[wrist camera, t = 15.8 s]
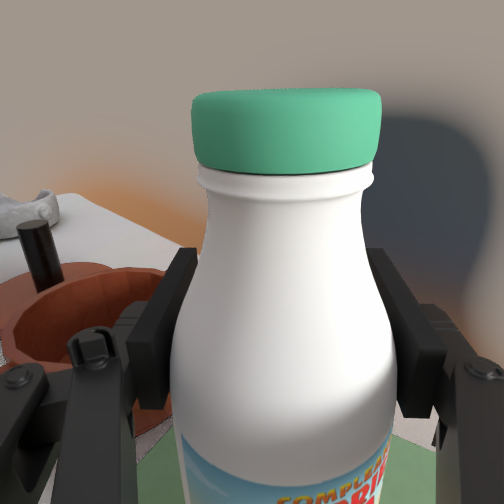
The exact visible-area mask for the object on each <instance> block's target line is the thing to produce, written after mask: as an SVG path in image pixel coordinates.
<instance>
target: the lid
mask: <svg viewBox="0 0 504 504" xmlns="http://www.w3.org/2000/svg"><path fill="white" fill-rule="evenodd" d="M16 231H17V234H18V237H19V240H20V243H21V246H22V249H23V252H24V255H25V258H26V261H27V264H28V267H29V270H30V272H27V273H24V274H22V275H19V276H17V277H14V278H12V279H10V280H8V281H6V282H4V283H2V284H1V285H0V334H1V331H2V330H3V328H4V327H5V325H6V323H7V322H8V320H9V319H10V317H11V316H12V314H13V312H15V311H16V310H17V309H19V308H20V307H21V306H23V305H24V304H25V303H26V302H28V301H29V300H30V299H32V298H33V297H34V296H36V295H37V294H38V293H40V292H42V291H45V290H47V289H49V288H51V287H53V286H55V285H57V284H59V283H61V282H64V281H66V280H69V279H72V278H76V277H79V276H83V275H86V274H90V273H93V272H97V271H101V270H109V269H112V268H110V267H108V266H106V265H102V264H98V263H90V262H74V263H64V264H60V261H59V258H58V254H57V251H56V247H55V243H54V240H53V236H52V233H51V229H50V226H49V222H48V221H47V220H42V219H38V220H30V221H26V222H23V223H20V224H18V225H17V226H16Z"/></svg>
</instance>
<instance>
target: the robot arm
mask: <svg viewBox="0 0 504 504" xmlns="http://www.w3.org/2000/svg"><path fill="white" fill-rule="evenodd" d="M365 250H366V254H367V258H368V263H369V266H370V269H371V272H372V275H373V278H374V281H375V284H376V286H377V289H378V292H379V294H380V297H381V299H382V302H383V304H384V307H385V310H386V313H387V316H388V319H389V322H390V326H391V329H392V334H393V339H394V343H395V351H396V360H397V401H398V404H399V406H400V409H401V411H402V414H403V417H404V418H425V419H429V418H430V414H431V411H432V407H433V405H434V407H435V409H436V411H437V413H438V415H439V420H438V424H437V427H436V431H435V434H434V438H433V441H432V446H434V447H436V504H504V370H503V369H502V368H501V367H500V366H499V365H498V364H496V363H494V362H492V361H491V360H489V359H486V358H483V357H480V356H478V355H477V354H476V352H475V351H474V350H473V348H472V347H471V346H470V345H469V343H468V342H467V340H466V339H465V338H464V336H463V335H462V334H461V332H460V331H458V328H457V327H456V326H455V324H454V323H452V320H451V319H450V318H449V316H448V315H447V313H446V312H444V311H443V310H442V309H440V308H439V307H437V306H436V305H434V304H419V303H418V301H417V300H416V298H415V297H414V296H413V294H412V292H411V291H410V289H409V288H408V287H407V285H406V283H405V282H404V280H403V279H402V277H401V276H400V274H399V272H398V271H397V269H396V268H395V266H394V265H393V263H392V262H391V260H390V259H389V257H388V256H387V255H386V253H385V251H384V250H383V248H365ZM197 264H198V259H197V249H196V248H179V250H178V252H177V254H176V255H175V257H174V259H173V260H172V262H171V264H170V266H169V267H168V269H167V271H166V273H165V274H164V276H163V278H162V279H161V281H160V283H159V285H158V286H157V288H156V290H155V291H154V293H153V295H152V297H151V298H150V300H149V301H135V302H133V303H132V304H130V305H129V306H128V307H126V308H125V309H124V311H123V312H122V314H121V315H120V317H119V319H118V320H117V321H116V323H115V324H114V326H113V327H112V329H110V328H109V327H104V326H97V327H90V328H87V329H84V330H82V331H80V332H78V333H76V334H75V335H74V336H72V337H71V338H70V339H69V341H68V342H67V344H66V347H67V350H68V353H69V357H70V360H71V363H72V366H73V368H70V369H66V370H61V371H56V372H51V373H47V374H46V373H45V370H44V368H43V366H42V365H40V364H39V363H30V362H29V363H24V364H19V365H17V366H14V367H12V368H10V369H8V370H7V371H5V372H3V373H2V374H0V504H38V502H39V500H40V497H41V495H42V493H43V490H44V488H45V486H46V483H47V481H48V479H49V476H50V474H51V472H52V469H53V467H54V465H55V462H56V460H57V458H58V461H57V467H56V473H55V479H54V485H53V491H52V497H51V503H50V504H138V487H137V466H136V444H135V423H134V415H133V410H132V408H133V406H134V403H135V401H136V399H137V398H138V402H139V407H140V409H145V410H163V409H164V406H165V403H166V400H167V398H168V395H169V392H170V355H171V347H172V340H173V334H174V330H175V326H176V322H177V318H178V315H179V312H180V309H181V306H182V304H183V301H184V298H185V296H186V294H187V291H188V289H189V286H190V284H191V281H192V278H193V276H194V273H195V270H196V267H197Z"/></svg>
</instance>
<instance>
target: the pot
mask: <svg viewBox="0 0 504 504" xmlns="http://www.w3.org/2000/svg"><path fill="white" fill-rule="evenodd" d="M166 271H167V270H166ZM166 271H160V270H157V269H152V268H133V267H125V268H117V269H109V270H101V271H97V272H93V273H90V274H86V275H83V276H79V277H76V278H72V279H69V280H66V281H64V282H61V283H59V284H57V285H55V286H53V287H51V288H49V289H47V290H45V291H42V292H40V293H38V294H37V295H36V296H34V297H33V298H32V299H30V300H29V301H28V302H26V303H25V304H24V305H23V306H21V307H20V308H19V309H17V310H16V311H15V312H13V314H12V316H11V317H10V319H9V320H8V322H7V323H6V325H5V327H4V328H3V330H2V331H1V334H0V336H1V343H2V350H3V355H4V357H5V360H6V362H7V364H5V365H3V366H2V367H0V374H2V373H3V372H5V371H7V370H8V369H10V368H12V367H14V366H17V365H19V364H24V363H29V362H30V363H39V364H40V365H42V366H43V368H44V370H45V373H46V374H47V373H51V372H56V371H61V370H66V369H70V368H73V366H72V363H71V360H70V357H69V353H68V350H67V347H66V344H67V342H68V341H69V339H70V338H71V337H72V336H74V335H75V334H76V333H78V332H80V331H82V330H84V329H87V328H90V327H97V326H104V327H109V328H110V329H112V327H113V326H114V324H115V323H116V321H117V320H118V319H119V317H120V315H121V314H122V312H123V311H124V309H125V308H126V307H128V306H129V305H130V304H132V303H133V302H135V301H149V300H150V298H151V297H152V295H153V293H154V291H155V290H156V288H157V286H158V285H159V283H160V281H161V279H162V278H163V276H164V274H165V273H166ZM132 410H133V415H134V423H135V437H136V436H138V435H140V434H142V433H144V432H146V431H148V430H150V429H152V428H153V427H155V426H157V425H158V424H160V423H161V422H163V421H164V420H165V419H167V418H168V417H169V416H170V415H172V405H171V395H170V392H169V395H168V398H167V400H166V403H165V406H164V409H163V410H145V409H140V407H139V402H138V398H137V399H136V401H135V403H134V406H133V408H132Z"/></svg>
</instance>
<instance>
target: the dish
mask: <svg viewBox="0 0 504 504" xmlns="http://www.w3.org/2000/svg"><path fill="white" fill-rule="evenodd" d="M38 219H42V220H47V221H48V222H49V226H52V225H54V224H55V223H56V222H57V221H58V220H59V206H58V202H57V199H56V196H55V194H54V193H53V191H51V190H47V189H42V190H41V191H40V193H39V195H38V197H37V198H36V199H35V200H33V201H31V202H17V201H15V200H13V199H11V198H9V197H7V196H5V195H3V194H2V193H1V192H0V239H5V238H11V237H17V236H18V234H17V231H16V226H17V225H18V224H20V223H23V222H26V221H30V220H38Z"/></svg>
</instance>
